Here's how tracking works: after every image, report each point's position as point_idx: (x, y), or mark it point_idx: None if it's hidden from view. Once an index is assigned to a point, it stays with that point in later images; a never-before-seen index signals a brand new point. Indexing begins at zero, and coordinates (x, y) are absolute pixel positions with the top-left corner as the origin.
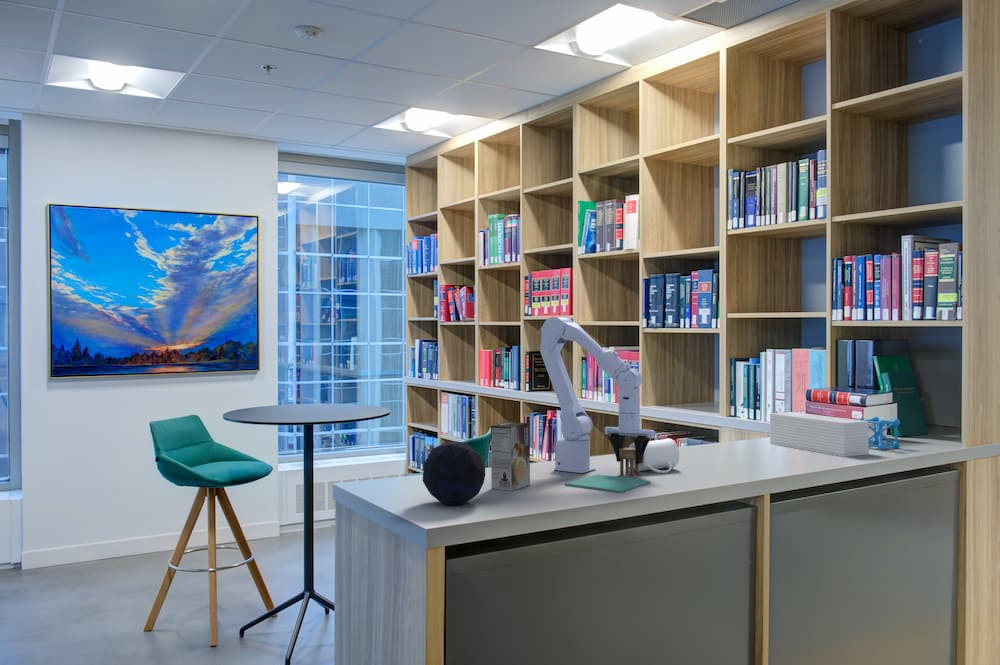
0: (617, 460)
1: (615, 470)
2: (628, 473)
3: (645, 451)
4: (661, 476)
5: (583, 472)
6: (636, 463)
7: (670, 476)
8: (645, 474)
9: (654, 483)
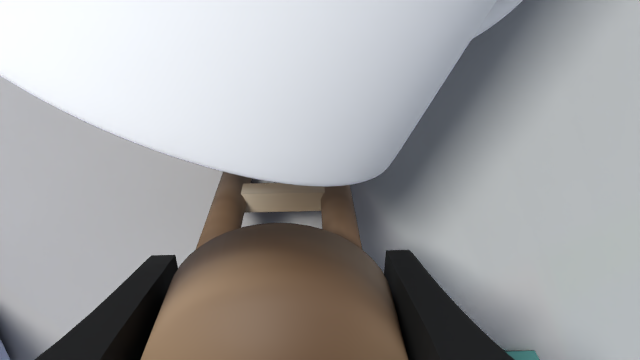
0: None
1: None
2: None
3: (405, 135)
4: (550, 123)
5: (6, 355)
6: None
7: (629, 75)
8: None
9: (560, 349)
